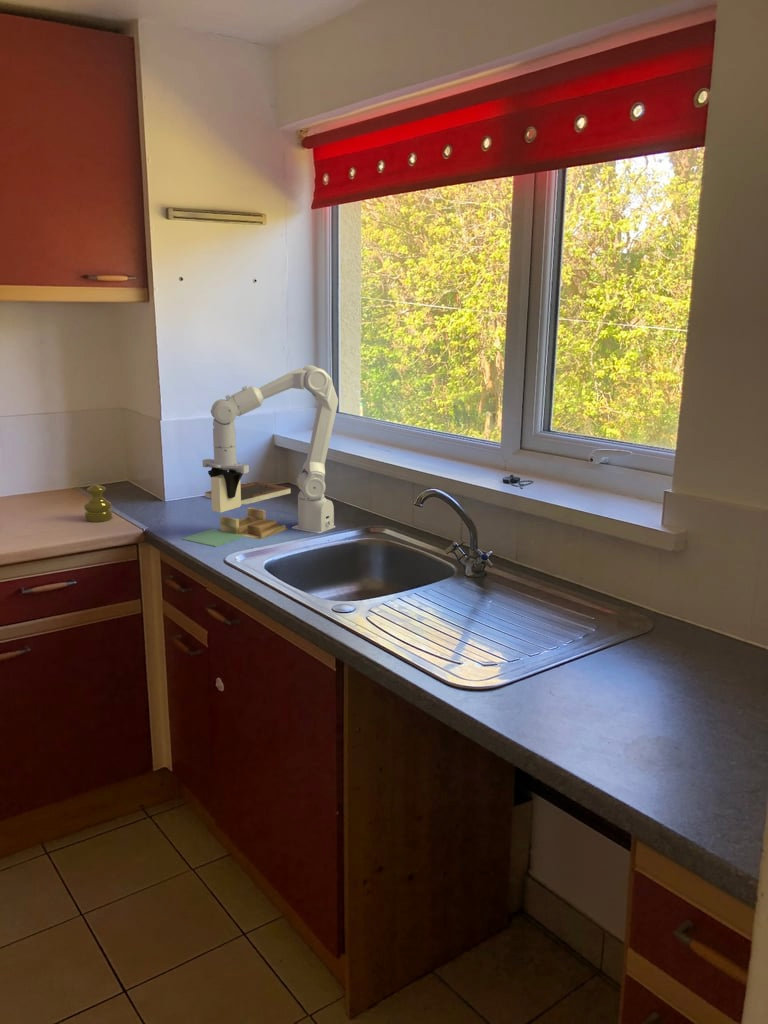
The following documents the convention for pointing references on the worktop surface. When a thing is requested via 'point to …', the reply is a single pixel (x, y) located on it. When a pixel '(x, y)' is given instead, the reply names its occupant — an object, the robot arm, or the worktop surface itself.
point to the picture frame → (258, 492)
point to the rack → (241, 524)
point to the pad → (213, 537)
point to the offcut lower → (259, 532)
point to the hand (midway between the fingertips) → (226, 496)
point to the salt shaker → (97, 505)
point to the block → (223, 495)
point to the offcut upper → (262, 525)
